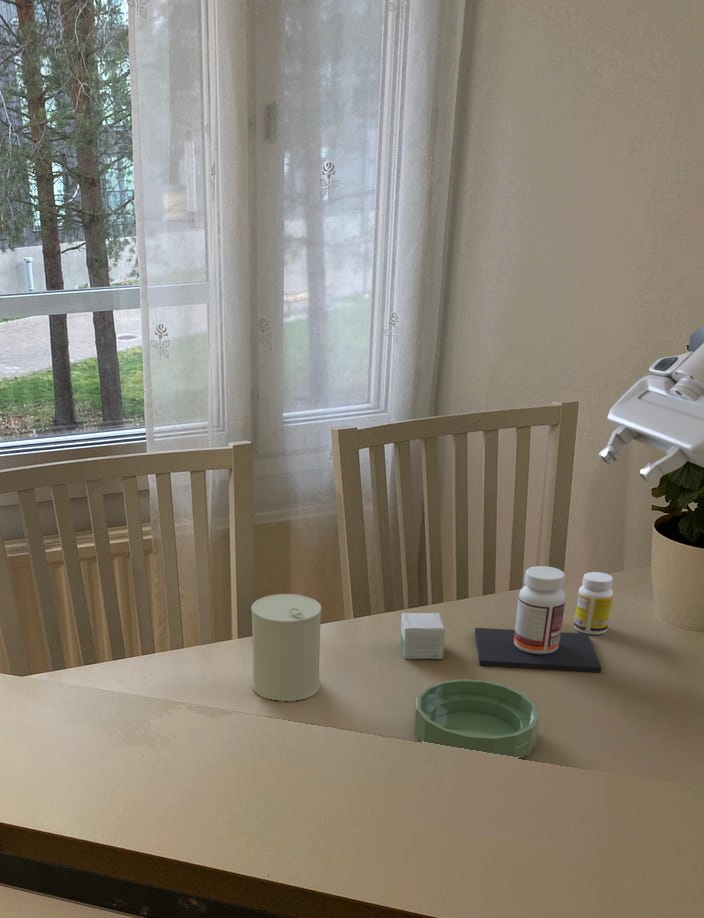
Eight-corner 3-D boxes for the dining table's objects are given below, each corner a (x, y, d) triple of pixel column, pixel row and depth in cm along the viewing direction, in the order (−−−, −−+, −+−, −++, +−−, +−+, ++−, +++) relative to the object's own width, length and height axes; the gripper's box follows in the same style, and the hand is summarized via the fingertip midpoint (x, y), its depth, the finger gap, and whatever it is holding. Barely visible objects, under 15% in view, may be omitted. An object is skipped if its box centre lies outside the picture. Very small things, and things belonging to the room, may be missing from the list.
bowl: (527, 712, 115) (531, 683, 113) (541, 774, 102) (545, 742, 101) (414, 704, 117) (416, 676, 116) (414, 764, 105) (416, 733, 103)
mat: (587, 638, 134) (587, 633, 133) (600, 672, 124) (601, 667, 124) (474, 632, 137) (475, 627, 136) (479, 665, 127) (480, 660, 127)
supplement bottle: (610, 626, 137) (619, 574, 134) (603, 638, 134) (612, 584, 130) (577, 620, 140) (585, 568, 136) (569, 631, 136) (577, 579, 133)
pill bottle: (549, 636, 133) (559, 563, 128) (564, 655, 127) (576, 579, 122) (507, 638, 133) (515, 565, 128) (521, 656, 127) (530, 581, 122)
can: (273, 708, 117) (273, 623, 112) (239, 679, 125) (238, 598, 120) (333, 691, 121) (336, 608, 116) (297, 664, 129) (297, 585, 123)
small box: (399, 642, 134) (401, 611, 132) (438, 642, 134) (441, 612, 132) (402, 659, 129) (404, 628, 127) (443, 660, 129) (446, 628, 126)
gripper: (781, 420, 104) (687, 508, 107) (674, 389, 123) (596, 465, 126) (755, 382, 102) (658, 474, 105) (649, 357, 120) (570, 435, 123)
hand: (623, 469), depth 115 cm, fingers open, 8 cm apart
